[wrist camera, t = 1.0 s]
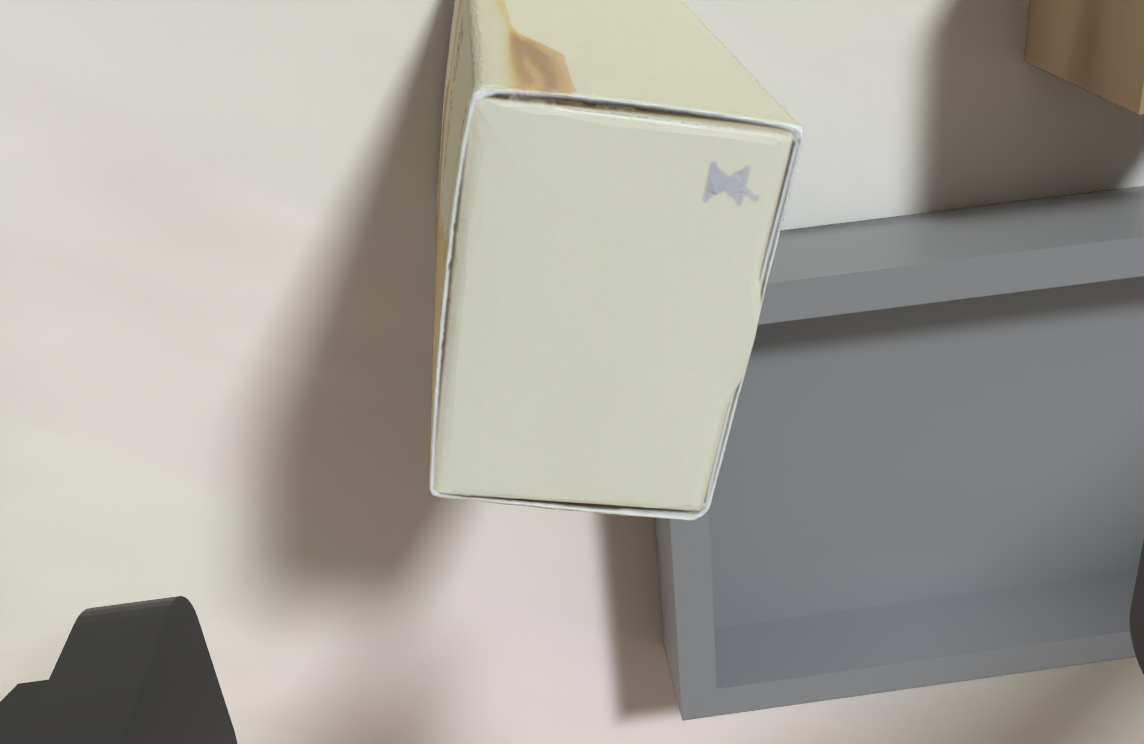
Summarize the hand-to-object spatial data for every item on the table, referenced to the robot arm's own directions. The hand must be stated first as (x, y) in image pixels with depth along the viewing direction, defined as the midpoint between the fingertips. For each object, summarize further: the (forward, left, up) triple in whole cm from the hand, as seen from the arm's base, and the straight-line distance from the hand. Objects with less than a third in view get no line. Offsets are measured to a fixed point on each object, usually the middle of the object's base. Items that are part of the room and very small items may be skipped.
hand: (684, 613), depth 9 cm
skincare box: (0, 0, -18) cm, 18 cm away
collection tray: (-12, +11, -18) cm, 24 cm away
